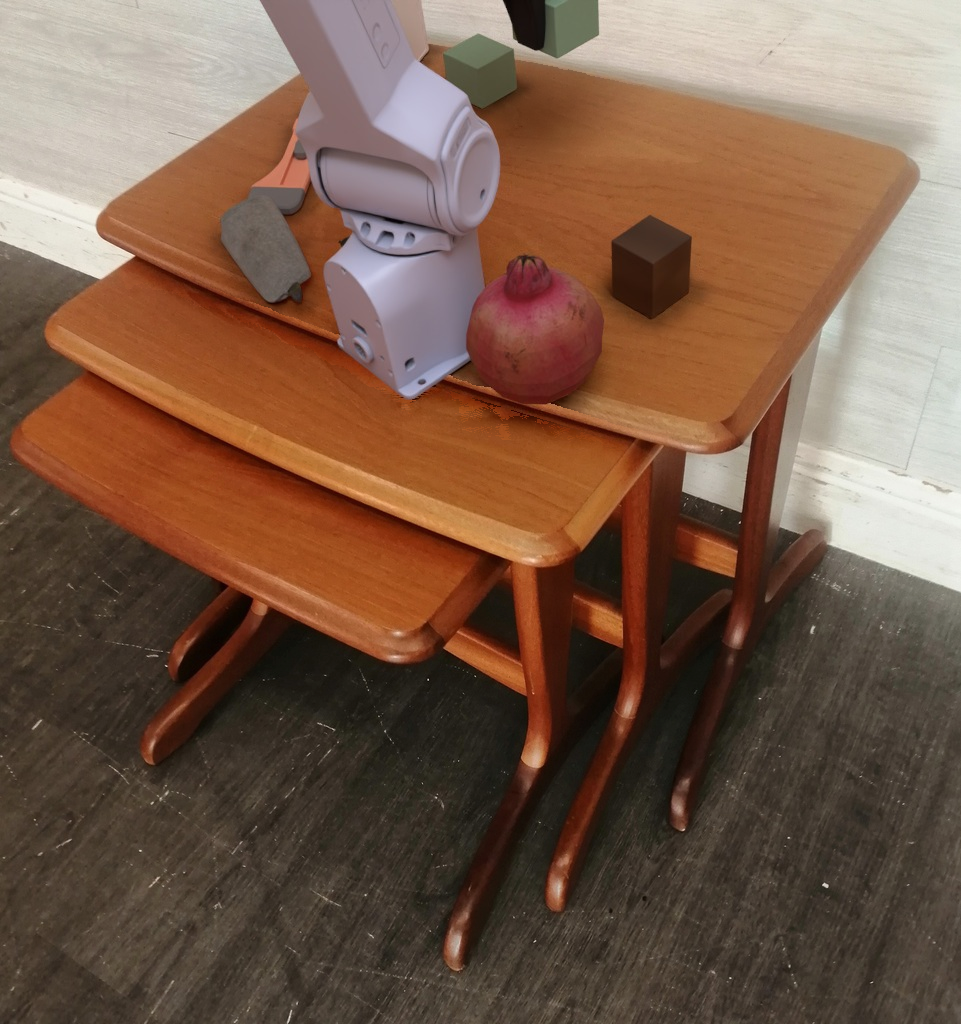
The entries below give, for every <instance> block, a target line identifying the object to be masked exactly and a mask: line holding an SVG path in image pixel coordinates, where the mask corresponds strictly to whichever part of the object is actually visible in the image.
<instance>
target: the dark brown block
mask: <svg viewBox="0 0 961 1024" xmlns="http://www.w3.org/2000/svg"><path fill="white" fill-rule="evenodd" d="M692 243H693V237H692V235H690V234H688V233H687V232H684V231H682V230H680V229H679V228H677V227H675V226H673V225H671V224H669V223H667V222H666V221H663V220H662V219H660V218H657V217H655V216H654V215H652V214H649V215H647V216H646V217H644V218H643V219H641V220H640V221H638V222H637V223H636V224H634V225H632V226H631V227H630V228H628V229H626V230H625V231H624V232H622V233H621V234H619V235H617V236H616V237H615V238H613V239H612V240H611V243H610V244H611V245H610V246H611V247H610V248H611V291H612V292H611V296H612V297H613V298H615V299H616V300H618V301H620V302H622V303H624V304H625V305H627V306H629V307H630V308H631V309H634V310H635V311H637V312H638V313H641V315H644V316H645V317H647V318H649V319H650V320H653V319H655V318H656V317H657V316H658V315H660V314H661V313H662V312H664V311H665V310H667V309H668V308H670V307H671V306H672V305H673V304H675V303H676V302H678V301H679V300H680V299H682V298H684V296H686V295H687V294H689V292H690V279H691V278H690V277H691V276H690V275H691V259H692Z"/></svg>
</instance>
